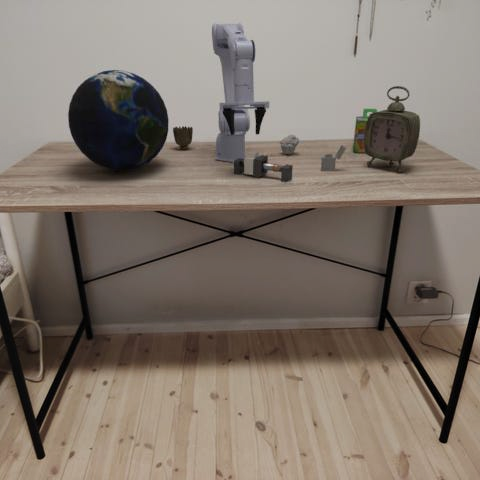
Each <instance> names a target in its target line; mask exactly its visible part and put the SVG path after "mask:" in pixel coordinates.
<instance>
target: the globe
mask: <svg viewBox="0 0 480 480" xmlns="http://www.w3.org/2000/svg"><path fill="white" fill-rule="evenodd" d="M67 114H68V116H67V117H68V128H69V132H70V135H71V137H72V139H73V141H74V144H75V145H76V147H77V148H78V149H79V151H80V152H81V153H82V154H83V155H84V156H85V157H86V158H87V159H89V160H90V161H91V162H92V163H94V164H96V165H98V166H99V167H102V168H105V169H106V170H107V169H108V170H112V171H121V172H122V171H124V172H125V171H132V170H136V169H139V168H141V167H143V166H146V165H147V164H149V163H151V162H152V161H153V160H154V159H155V158H156V157H157V156H158V155H159V153H160V152H161V150H163V147H164V145H165V143H166V141H167V138H168V133H169V114H168V110H167V107H166V103H165V102H164V100H163V98H162V96H161V94H160V93H159V91H157V89H156V88H155V87H154V86H153V85H152V84H151V83H150V82H148V81H147V80H146V79H145V78H143V77H141V76H139V75H138V74H136V73H133V72H130V71H125V70H119V69H113V70H111V69H109V70H103V71H101V72H96V73H94V74H93V75H91V76H90V77H88V78H87V79H85V80H84V81H83V82H82V83H80V85H79V86H78V87H77V88H76V90H75V92H74V93H73V95H72V97H71V100H70V102H69V106H68V112H67Z"/></svg>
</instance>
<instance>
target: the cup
mask: <svg viewBox="0 0 480 480" xmlns="http://www.w3.org/2000/svg"><path fill="white" fill-rule="evenodd" d="M193 129H194V128H193V126H191V127H190V126H188V127H187V126H186V125H185V126H184V125H183V126H179V127H178V126H175V127H172V132H173V139H174V142H175V144H176V145H178V148H179V150H180V151H187V150H189V149H190V145H191V144H192V142H193V133H194V132H193Z"/></svg>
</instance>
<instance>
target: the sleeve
mask: <svg viewBox="0 0 480 480" xmlns="http://www.w3.org/2000/svg"><path fill="white" fill-rule="evenodd" d="M245 156H246V158H244V173H243V174H245V175H251V176H254V159H255V158H257V157H259V156H260V155H259V151H253V150H249V151H247V152H245Z"/></svg>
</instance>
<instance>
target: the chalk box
mask: <svg viewBox="0 0 480 480" xmlns="http://www.w3.org/2000/svg"><path fill="white" fill-rule="evenodd" d="M362 111H363V113H362V116H361V115H360V116H356V117H355V125H354V135H353V143H352V152H353V153H358V154H359V153H361V154H366V153H365V149H364V137H365V129H366V124H367V120H368V118H369V116H370V115H368V113H369V112H370V113H371V114H372V113H375V112H378V109H377V108H363V110H362Z"/></svg>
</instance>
